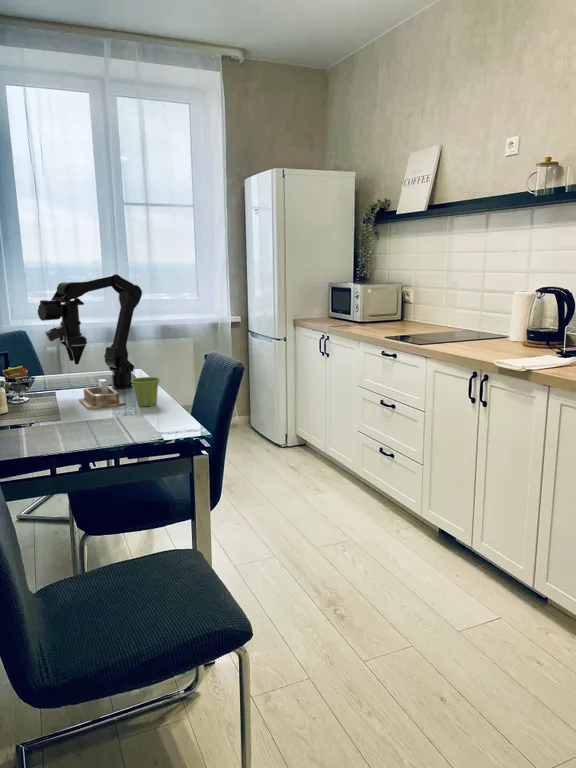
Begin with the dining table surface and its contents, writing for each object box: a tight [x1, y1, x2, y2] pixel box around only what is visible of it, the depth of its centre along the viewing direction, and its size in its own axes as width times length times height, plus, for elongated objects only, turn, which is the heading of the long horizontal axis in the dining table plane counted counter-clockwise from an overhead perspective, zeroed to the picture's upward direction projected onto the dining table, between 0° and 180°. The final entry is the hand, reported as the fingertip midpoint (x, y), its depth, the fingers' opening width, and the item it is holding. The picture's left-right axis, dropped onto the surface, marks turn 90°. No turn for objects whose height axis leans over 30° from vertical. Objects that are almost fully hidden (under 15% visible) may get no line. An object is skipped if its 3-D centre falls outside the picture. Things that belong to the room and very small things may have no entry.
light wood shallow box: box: [78, 385, 126, 410], centre depth 199 cm, size 12×15×4 cm
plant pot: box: [131, 376, 161, 408], centre depth 195 cm, size 9×9×9 cm
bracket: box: [94, 378, 109, 396], centre depth 199 cm, size 4×4×7 cm
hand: (74, 362), depth 208 cm, fingers open, 9 cm apart
